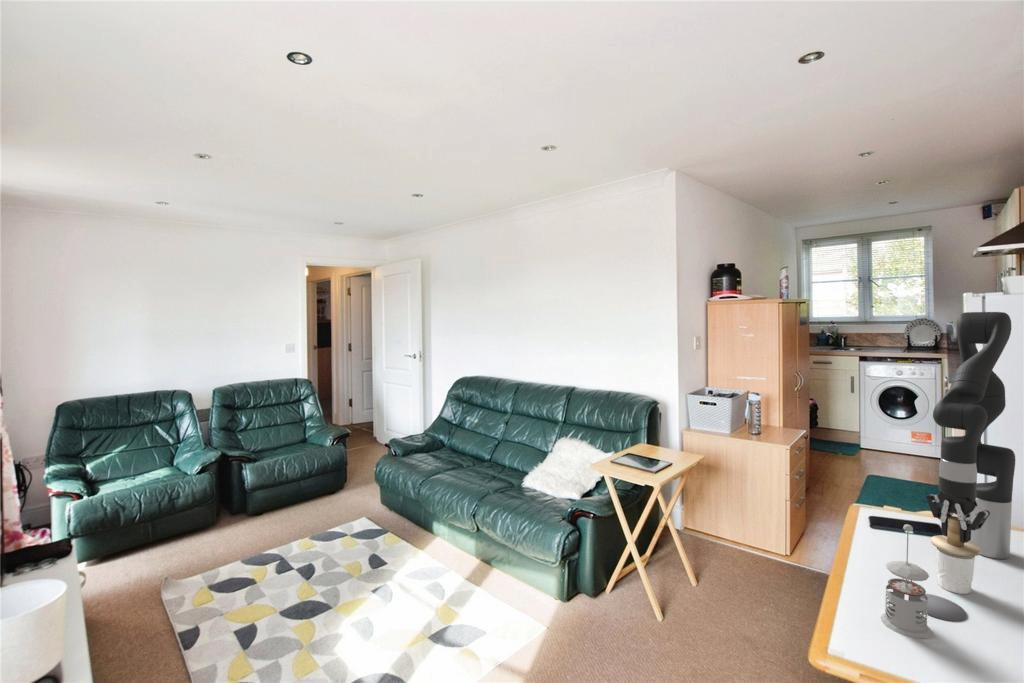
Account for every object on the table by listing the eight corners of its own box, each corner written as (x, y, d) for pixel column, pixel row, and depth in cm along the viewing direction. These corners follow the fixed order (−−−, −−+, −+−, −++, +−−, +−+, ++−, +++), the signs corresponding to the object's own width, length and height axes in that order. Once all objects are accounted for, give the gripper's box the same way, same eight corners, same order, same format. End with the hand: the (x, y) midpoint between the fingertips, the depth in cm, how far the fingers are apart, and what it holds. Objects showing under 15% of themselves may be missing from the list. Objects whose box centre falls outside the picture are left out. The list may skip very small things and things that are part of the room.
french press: (878, 627, 119) (881, 526, 117) (882, 604, 128) (884, 510, 126) (932, 644, 113) (935, 538, 111) (931, 618, 121) (934, 520, 120)
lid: (945, 535, 140) (946, 508, 139) (989, 551, 130) (990, 522, 130) (922, 542, 136) (923, 514, 136) (965, 559, 127) (966, 529, 126)
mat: (926, 591, 133) (926, 589, 133) (976, 614, 122) (976, 613, 122) (899, 600, 129) (899, 598, 129) (947, 625, 119) (947, 623, 119)
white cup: (981, 597, 129) (982, 560, 129) (946, 594, 131) (947, 558, 130) (960, 580, 137) (961, 545, 136) (928, 578, 139) (929, 543, 138)
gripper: (999, 483, 127) (997, 548, 128) (936, 466, 140) (934, 525, 141) (981, 487, 124) (978, 553, 125) (919, 470, 137) (917, 530, 139)
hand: (955, 538), depth 133 cm, fingers closed on lid, 3 cm apart
